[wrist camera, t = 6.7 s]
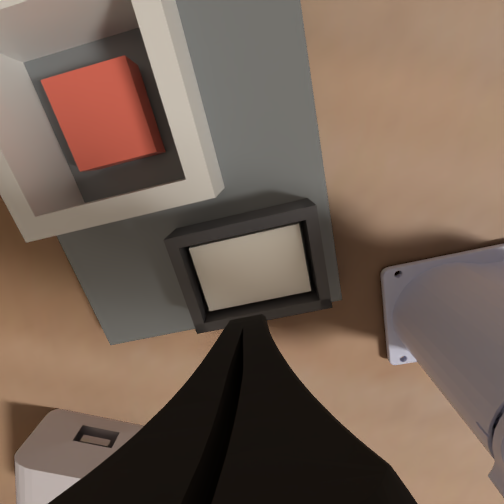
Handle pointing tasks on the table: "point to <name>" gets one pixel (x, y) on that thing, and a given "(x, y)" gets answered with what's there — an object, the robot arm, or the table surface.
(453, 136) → the table surface
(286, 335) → the table surface
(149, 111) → the plunger
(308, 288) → the on button
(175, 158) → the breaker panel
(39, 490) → the charger
